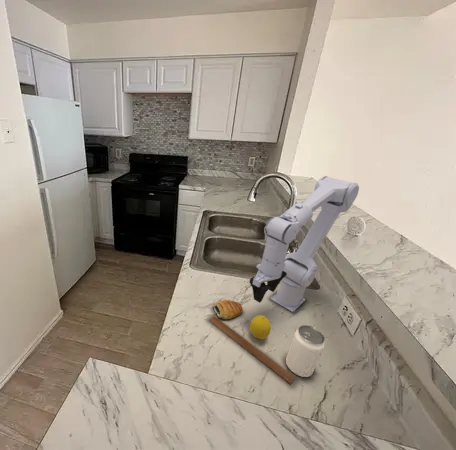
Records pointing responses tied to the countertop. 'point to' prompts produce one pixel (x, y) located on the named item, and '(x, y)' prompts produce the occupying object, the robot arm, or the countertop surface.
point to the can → (305, 350)
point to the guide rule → (253, 351)
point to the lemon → (260, 327)
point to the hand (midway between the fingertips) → (264, 295)
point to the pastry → (227, 309)
